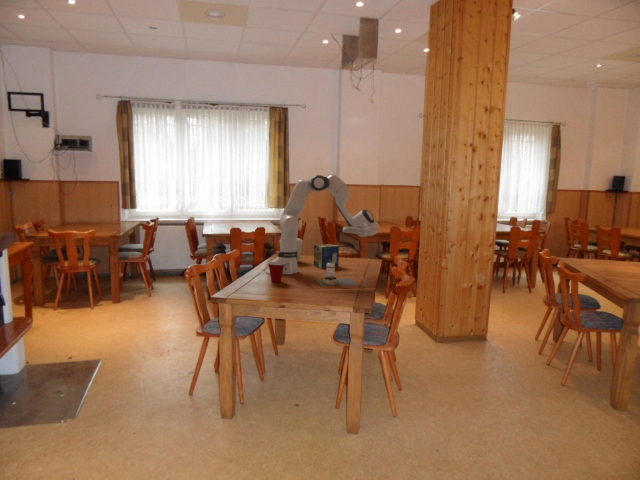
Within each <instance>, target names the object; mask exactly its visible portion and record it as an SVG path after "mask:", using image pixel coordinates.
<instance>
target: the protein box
mask: <svg viewBox="0 0 640 480" xmlns="http://www.w3.org/2000/svg"><path fill="white" fill-rule="evenodd" d="M339 254H340V245H337V244H332V243H327V244H314V245H313V267H315V266H317V267H316V268H318V267H320V268H319V269H326V263H335V266H338V267H339V261H340V260H339V257H340V255H339Z"/></svg>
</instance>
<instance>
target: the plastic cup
mask: <svg viewBox="0 0 640 480" xmlns="http://www.w3.org/2000/svg"><path fill="white" fill-rule="evenodd" d="M267 265H268V269H269V270H270V274H269V276H270V280H271V283H274V284H275V283H276V284H277V283H281V282H282V278H283V274H282V273H283V268H284V265H285V263H281V262H271V261H269V262H267Z"/></svg>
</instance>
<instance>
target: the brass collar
mask: <svg viewBox="0 0 640 480" xmlns="http://www.w3.org/2000/svg"><path fill="white" fill-rule="evenodd" d="M321 278H322V283H323V284H325V285H335V286H337V285H336V284H338V279H339V278H338V277H337V276H335V279H334V280H328V279H326V276H323V277H321Z"/></svg>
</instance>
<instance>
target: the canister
mask: <svg viewBox="0 0 640 480" xmlns="http://www.w3.org/2000/svg"><path fill="white" fill-rule="evenodd" d="M278 242H279V248H280V249H281V239H279V241H278ZM303 243H304V240H303V239H301V238H298V237H297V253H298V258H297V263H299V261H300V260H301V254H302V248H303V247H302V245H303Z"/></svg>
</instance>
